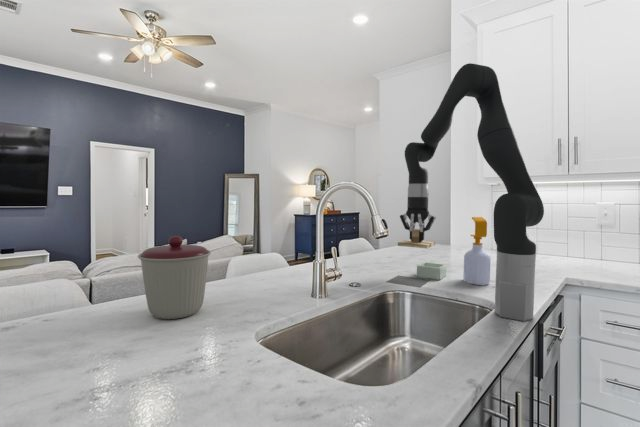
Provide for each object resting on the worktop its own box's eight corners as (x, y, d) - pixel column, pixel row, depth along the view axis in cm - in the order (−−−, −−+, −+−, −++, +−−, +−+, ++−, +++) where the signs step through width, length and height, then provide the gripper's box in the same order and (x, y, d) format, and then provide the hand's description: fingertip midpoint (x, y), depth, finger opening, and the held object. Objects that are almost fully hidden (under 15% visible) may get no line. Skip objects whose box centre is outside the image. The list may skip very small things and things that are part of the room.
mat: (420, 288, 120) (420, 287, 120) (385, 283, 127) (385, 281, 127) (430, 281, 131) (430, 280, 131) (398, 276, 138) (398, 275, 138)
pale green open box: (439, 281, 130) (440, 268, 130) (416, 278, 135) (416, 265, 135) (446, 276, 138) (446, 264, 137) (423, 273, 143) (423, 261, 143)
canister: (142, 331, 81) (140, 242, 80) (136, 309, 96) (134, 234, 95) (219, 317, 90) (218, 237, 89) (202, 299, 106) (202, 231, 105)
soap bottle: (483, 279, 134) (485, 216, 132) (493, 285, 125) (496, 218, 123) (459, 279, 134) (461, 216, 133) (468, 285, 125) (470, 218, 124)
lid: (427, 248, 123) (427, 231, 123) (397, 245, 129) (398, 229, 129) (435, 244, 133) (435, 229, 132) (407, 242, 139) (407, 227, 138)
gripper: (396, 195, 131) (395, 241, 131) (434, 196, 123) (432, 244, 124) (403, 195, 137) (402, 239, 138) (439, 196, 129) (438, 241, 130)
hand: (416, 241), depth 131 cm, fingers closed on lid, 2 cm apart
